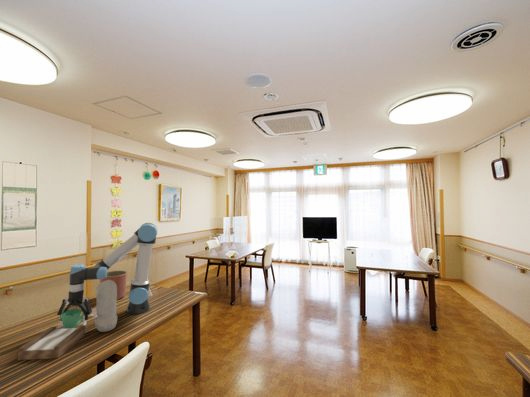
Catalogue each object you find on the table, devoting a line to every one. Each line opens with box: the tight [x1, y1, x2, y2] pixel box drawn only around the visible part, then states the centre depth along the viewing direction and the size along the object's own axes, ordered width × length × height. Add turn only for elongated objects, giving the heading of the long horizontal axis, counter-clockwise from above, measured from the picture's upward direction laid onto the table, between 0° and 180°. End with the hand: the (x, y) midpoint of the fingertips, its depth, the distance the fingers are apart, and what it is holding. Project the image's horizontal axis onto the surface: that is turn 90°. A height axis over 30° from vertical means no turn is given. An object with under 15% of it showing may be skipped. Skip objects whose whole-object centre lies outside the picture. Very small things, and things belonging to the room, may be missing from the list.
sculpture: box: [94, 280, 118, 333], centre depth 150 cm, size 15×12×30 cm
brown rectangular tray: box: [17, 325, 86, 361], centre depth 130 cm, size 18×22×6 cm
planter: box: [99, 269, 128, 301], centre depth 200 cm, size 19×19×20 cm
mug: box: [60, 308, 84, 329], centre depth 152 cm, size 15×10×10 cm
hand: (74, 325), depth 151 cm, fingers open, 11 cm apart
